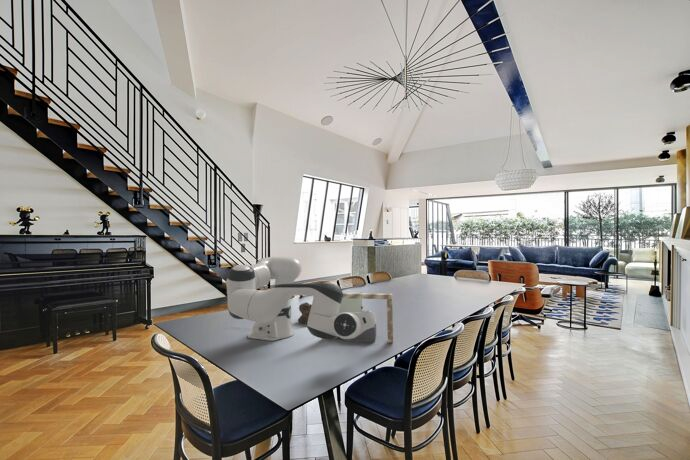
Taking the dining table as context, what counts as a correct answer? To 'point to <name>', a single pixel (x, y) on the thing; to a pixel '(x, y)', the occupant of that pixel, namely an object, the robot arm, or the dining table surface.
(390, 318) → the door frame
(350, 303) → the door
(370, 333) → the block
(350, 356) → the dining table surface
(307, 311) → the decorative stone
